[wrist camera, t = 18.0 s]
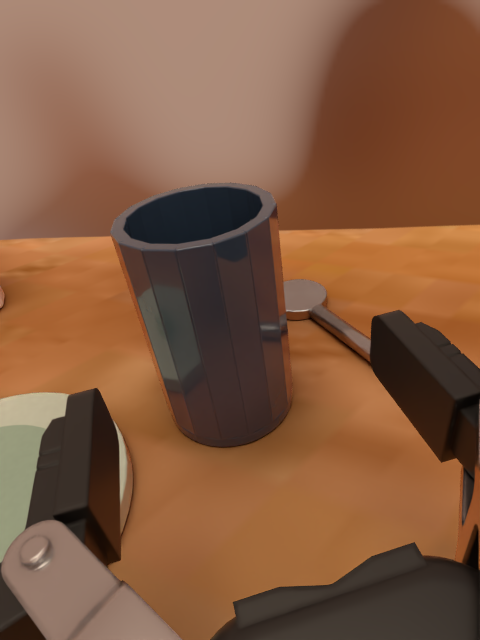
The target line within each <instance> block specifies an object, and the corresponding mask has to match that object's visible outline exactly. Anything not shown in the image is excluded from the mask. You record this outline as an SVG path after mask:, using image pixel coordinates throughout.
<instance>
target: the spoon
mask: <svg viewBox="0 0 480 640" xmlns="http://www.w3.org/2000/svg"><path fill="white" fill-rule="evenodd" d="M283 283H284V295H285V306H286V317H287V319H288V320H303V319H308V318H313V319H314V320H315V321H317V322H318V323H319V324H321V325H322V326H323V327H324V328H326V329H327V330H328V331H330V332H331V333H332V334H334V335H335V336H336V337H338V338H339V339H340V340H341V341H343V342H344V343H345V344H347V345H348V346H349V347H351V348H352V349H353V350H355V351H356V352H357V353H359V354H360V355H361V356H362V357H364V358H365V359H366V360H368V361H369V362H370V344H371V339H370V338H368V337H367V336H366V335H364V334H363V333H361V332H360V331H359V330H357V329H356V328H354V327H353V326H351V325H350V324H349V323H347V322H346V321H344V320H343V319H341V318H340V317H339V316H337V315H336V314H334V313H333V312H332V311H330V310H329V309H327V308H326V305H327V291H326V289H325V288H324V287H323V286H322V285H321V284H319V283H317V282H314V281H311V280H304V279H297V280H289V281H285V282H283ZM370 363H371V362H370Z"/></svg>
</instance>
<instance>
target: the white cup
mask: <svg viewBox="0 0 480 640" xmlns="http://www.w3.org/2000/svg"><path fill="white" fill-rule="evenodd" d="M4 297H5V295H4V292H3V290H2V288H1V286H0V308H1V307H2V306H3V305H4Z"/></svg>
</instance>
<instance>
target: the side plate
mask: <svg viewBox="0 0 480 640" xmlns="http://www.w3.org/2000/svg"><path fill="white" fill-rule="evenodd" d="M68 396H69V394H64V393H53V392H41V393H28V394H21V395H15V396H11V397H6V398H2V399H0V563H1V562H2V561H3V558H4V555H5V553H6V551H7V549H8V548H9V546H10V544H11V543H12V542H13V541H14V539H15V538H16V537H17V536H18V535H19V534H20V533H22V532H23V531H24V530H25V527H26V522H27V516H28V511H29V505H30V500H31V494H32V488H33V483H34V477H35V471H37V469H36V466H37V460H38V457H39V449H40V443H41V438H42V435H43V434H44V432H45V430H46V429H47V427H48V426H49V424H50V422H51V421H52V419H56V418H59V417H63V416H65V411H66V403H67V398H68ZM112 420H113V419H112ZM113 422H114V420H113ZM114 424H115V427H116V430H117V434H118V439H119V453H120V533H121V534H122V532H123V528H124V525H125V522H126V519H127V515H128V512H129V508H130V502H131V496H132V489H133V470H132V462H131V457H130V454H129V450H128V447H127V445H126V442H125V440H124V438H123V436H122V434H121V432H120V430H119V428H118V426H117V424H116V423H115V422H114Z"/></svg>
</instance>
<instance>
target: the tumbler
mask: <svg viewBox="0 0 480 640" xmlns="http://www.w3.org/2000/svg"><path fill="white" fill-rule="evenodd" d="M110 234H111V237H112V240H113V243H114V246H115V249H116V252H117V255H118V258H119V261H120V264H121V267H122V270H123V273H124V276H125V279H126V282H127V285H128V288H129V291H130V294H131V297H132V300H133V303H134V306H135V309H136V312H137V315H138V318H139V321H140V324H141V327H142V330H143V333H144V336H145V339H146V342H147V345H148V348H149V351H150V354H151V357H152V360H153V363H154V366H155V369H156V372H157V375H158V378H159V381H160V384H161V387H162V390H163V393H164V396H165V399H166V402H167V405H168V408H169V410H170V412H171V414H172V417H173V420H174V422H175V424H176V426H177V427H178V428H179V430H180V431H181V432H182V433H183V434H185V435H186V436H187V437H189V438H190V439H192V440H194V441H196V442H199V443H201V444H205V445H209V446H216V447H231V446H238V445H243V444H247V443H250V442H252V441H255V440H257V439H259V438H261V437H263V436H265V435H267V434H268V433H270V432H271V431H272V430H273V429H275V428H276V427H277V426H278V425H279V424H280V423H281V422H282V420H283V419H284V418H285V416H286V414H287V413H288V411H289V408H290V406H291V402H292V386H293V385H292V374H291V362H290V351H289V340H288V329H287V317H286V306H285V295H284V283H283V272H282V261H281V250H280V238H279V228H278V216H277V205H276V203H275V200H274V198H273V196H272V195H271V193H269V192H268V191H265V190H263V189H261V188H259V187H257V186H252V185H244V184H237V183H210V184H201V185H195V186H189V187H184V188H179V189H174V190H171V191H168V192H165V193H161V194H158V195H154V196H152V197H149V198H148V199H145V200H143V201H141V202H139V203H137V204H135V205H133V206H131V207H129V208H128V209H127V210H125V211H124V212H123V213H122V214H121V215H119V216H118V217H117V218H116V219H115V220H114V223H113V226H112V228H111V231H110Z"/></svg>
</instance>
